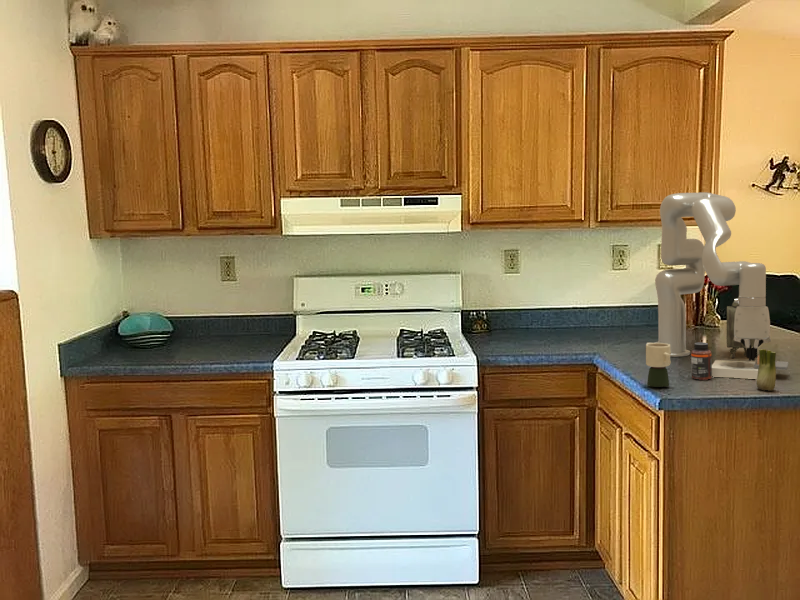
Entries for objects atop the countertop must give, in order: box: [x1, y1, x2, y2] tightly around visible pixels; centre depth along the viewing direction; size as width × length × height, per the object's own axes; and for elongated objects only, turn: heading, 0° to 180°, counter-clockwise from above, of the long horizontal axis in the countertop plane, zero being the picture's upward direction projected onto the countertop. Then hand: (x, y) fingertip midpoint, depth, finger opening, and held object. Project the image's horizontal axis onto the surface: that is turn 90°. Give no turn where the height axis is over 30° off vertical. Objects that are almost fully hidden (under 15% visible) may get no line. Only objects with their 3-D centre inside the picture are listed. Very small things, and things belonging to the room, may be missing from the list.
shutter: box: [754, 354, 789, 371], centre depth 234 cm, size 9×9×3 cm
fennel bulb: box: [756, 348, 777, 391], centre depth 217 cm, size 6×5×12 cm
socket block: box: [712, 359, 759, 379], centre depth 239 cm, size 16×14×3 cm
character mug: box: [645, 342, 672, 388], centre depth 226 cm, size 11×7×13 cm, turn 15°
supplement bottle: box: [690, 342, 713, 381], centre depth 235 cm, size 6×6×11 cm
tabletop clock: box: [726, 294, 755, 359], centre depth 267 cm, size 14×9×25 cm, turn 158°
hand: (751, 359), depth 236 cm, fingers closed
